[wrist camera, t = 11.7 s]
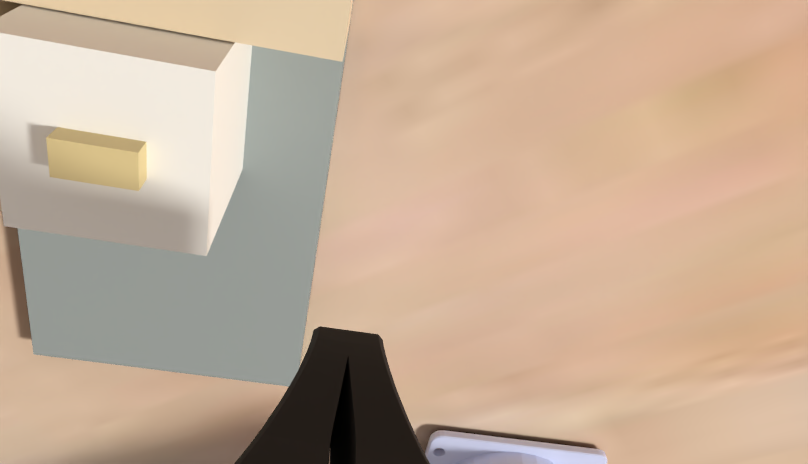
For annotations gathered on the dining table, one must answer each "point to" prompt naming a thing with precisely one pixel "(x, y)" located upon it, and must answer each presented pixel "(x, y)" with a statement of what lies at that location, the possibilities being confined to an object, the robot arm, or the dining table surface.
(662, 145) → the dining table surface
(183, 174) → the cabinet block
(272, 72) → the board
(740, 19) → the dining table surface
